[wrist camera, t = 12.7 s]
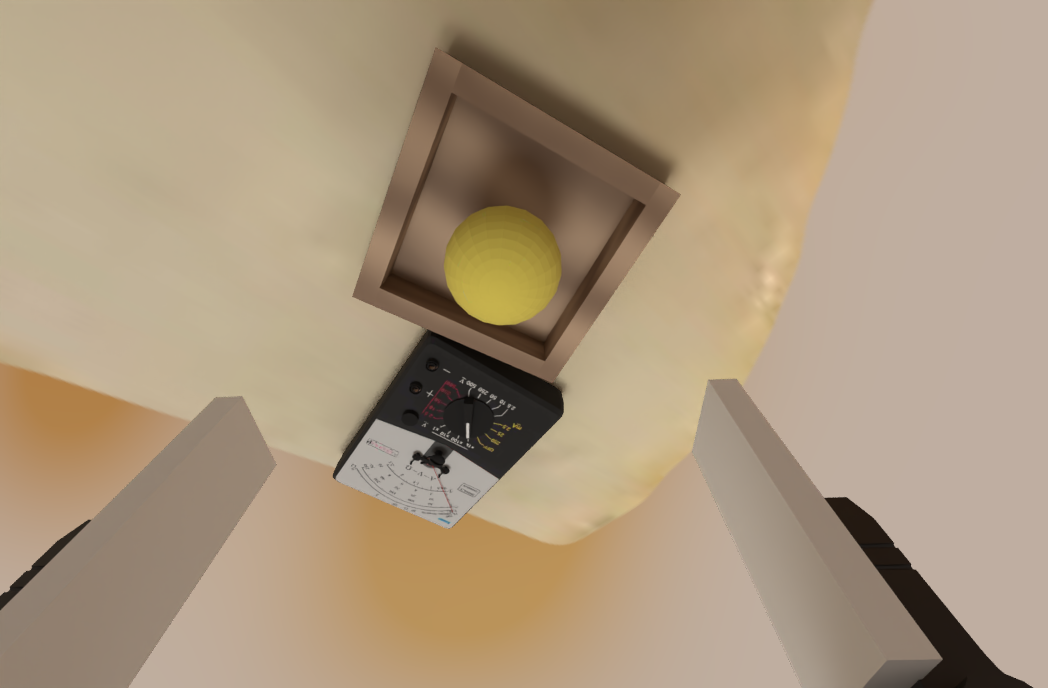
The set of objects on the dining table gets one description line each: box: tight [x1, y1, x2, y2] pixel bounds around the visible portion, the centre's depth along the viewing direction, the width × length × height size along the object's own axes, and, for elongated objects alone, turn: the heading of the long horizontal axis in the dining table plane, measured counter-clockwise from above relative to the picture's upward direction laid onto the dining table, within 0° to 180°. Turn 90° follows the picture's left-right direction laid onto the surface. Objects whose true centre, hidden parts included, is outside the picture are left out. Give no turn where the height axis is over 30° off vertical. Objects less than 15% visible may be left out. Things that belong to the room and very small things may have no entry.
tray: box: [352, 48, 681, 383], centre depth 29 cm, size 16×16×3 cm
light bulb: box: [444, 205, 562, 325], centre depth 25 cm, size 7×7×10 cm
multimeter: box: [333, 330, 564, 529], centre depth 38 cm, size 13×19×5 cm
